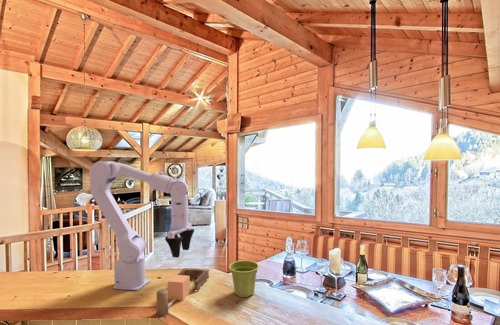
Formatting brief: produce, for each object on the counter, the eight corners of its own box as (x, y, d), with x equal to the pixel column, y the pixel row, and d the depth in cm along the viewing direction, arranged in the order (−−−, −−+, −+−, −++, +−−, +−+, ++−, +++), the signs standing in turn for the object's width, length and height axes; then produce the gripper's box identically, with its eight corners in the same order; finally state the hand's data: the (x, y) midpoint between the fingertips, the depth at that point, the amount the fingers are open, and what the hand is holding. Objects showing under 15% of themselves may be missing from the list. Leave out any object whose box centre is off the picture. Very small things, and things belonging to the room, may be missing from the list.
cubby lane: (171, 289, 92) (171, 280, 92) (184, 276, 102) (184, 268, 102) (198, 291, 90) (197, 281, 90) (208, 277, 100) (208, 269, 100)
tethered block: (151, 315, 77) (151, 293, 76) (175, 291, 90) (175, 273, 90) (168, 317, 75) (167, 294, 75) (190, 292, 89) (189, 274, 89)
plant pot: (260, 286, 92) (259, 260, 92) (258, 300, 83) (257, 271, 83) (232, 286, 93) (231, 260, 93) (227, 300, 84) (226, 271, 84)
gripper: (181, 219, 90) (182, 261, 90) (198, 211, 104) (199, 247, 104) (161, 218, 91) (162, 260, 91) (181, 210, 105) (182, 246, 105)
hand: (181, 253), depth 98 cm, fingers open, 7 cm apart
